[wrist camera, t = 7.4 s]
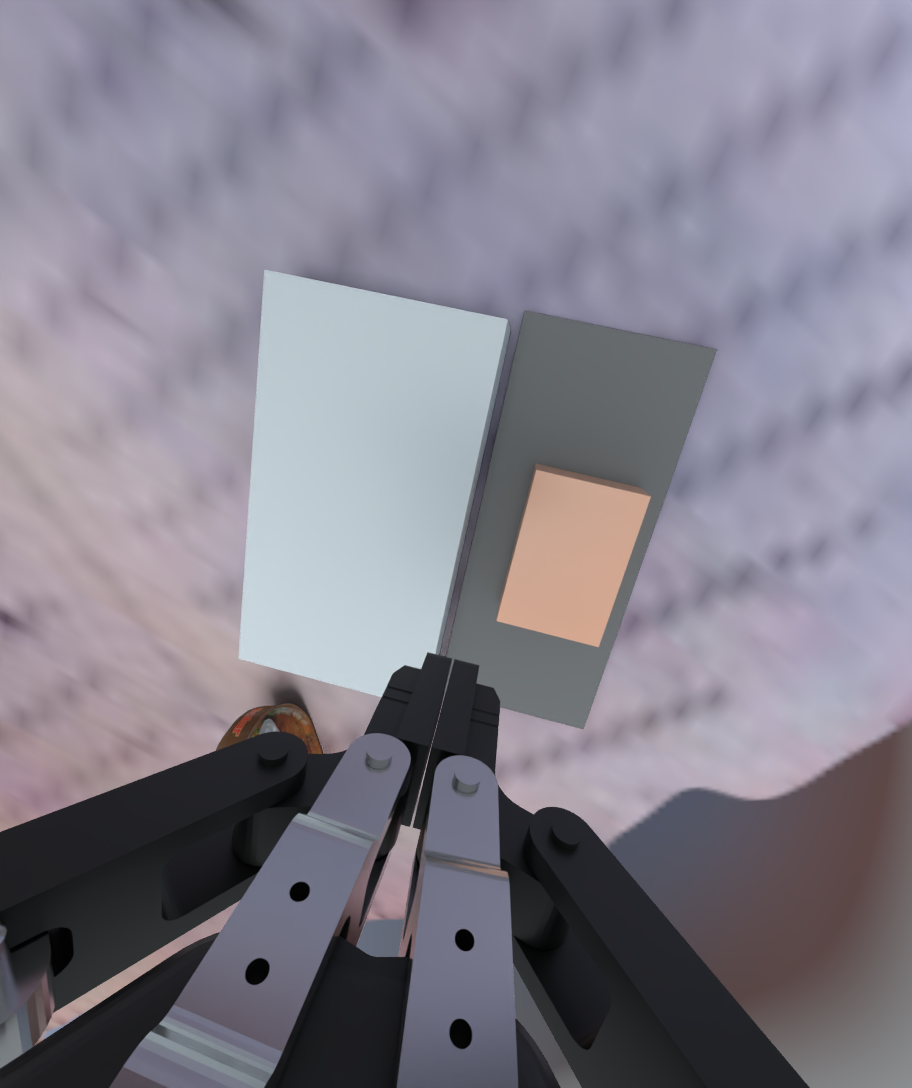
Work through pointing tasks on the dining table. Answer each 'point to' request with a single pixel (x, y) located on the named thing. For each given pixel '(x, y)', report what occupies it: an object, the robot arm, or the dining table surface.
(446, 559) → the plate
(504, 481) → the mat
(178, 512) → the dining table surface
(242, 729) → the tin
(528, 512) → the peach rectangular block
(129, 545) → the dining table surface
